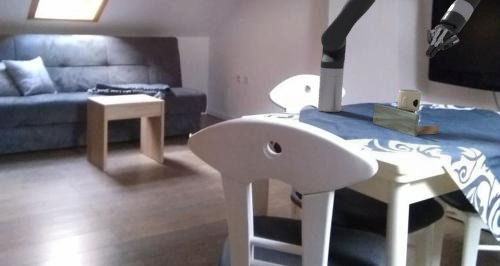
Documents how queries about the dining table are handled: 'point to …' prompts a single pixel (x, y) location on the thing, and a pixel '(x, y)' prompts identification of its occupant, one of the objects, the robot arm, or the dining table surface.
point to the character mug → (409, 100)
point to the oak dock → (401, 121)
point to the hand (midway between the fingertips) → (428, 56)
